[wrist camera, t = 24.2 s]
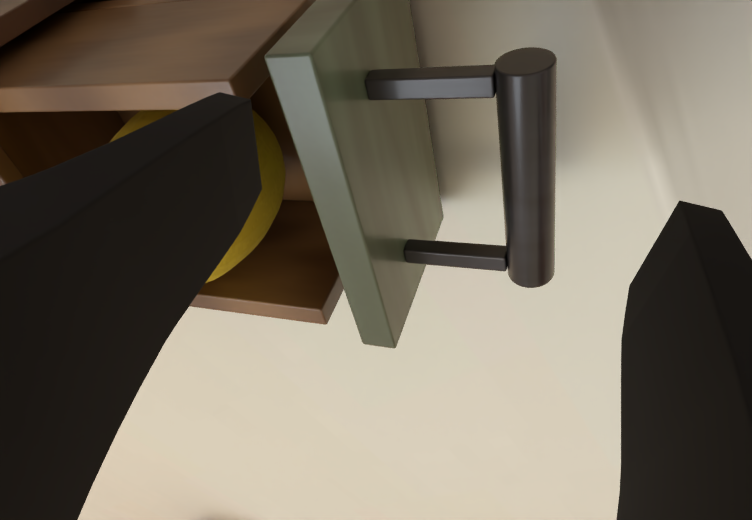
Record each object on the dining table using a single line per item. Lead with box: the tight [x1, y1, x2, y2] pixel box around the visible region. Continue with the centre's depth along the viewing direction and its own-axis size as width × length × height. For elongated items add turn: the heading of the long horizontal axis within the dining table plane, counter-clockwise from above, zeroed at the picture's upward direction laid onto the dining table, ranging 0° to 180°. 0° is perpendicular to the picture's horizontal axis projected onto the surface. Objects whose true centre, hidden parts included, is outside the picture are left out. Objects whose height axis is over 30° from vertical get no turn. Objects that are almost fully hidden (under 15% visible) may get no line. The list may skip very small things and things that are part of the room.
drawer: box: [0, 0, 557, 348], centre depth 19 cm, size 18×10×7 cm, turn 103°
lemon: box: [109, 110, 286, 283], centre depth 19 cm, size 6×6×8 cm
